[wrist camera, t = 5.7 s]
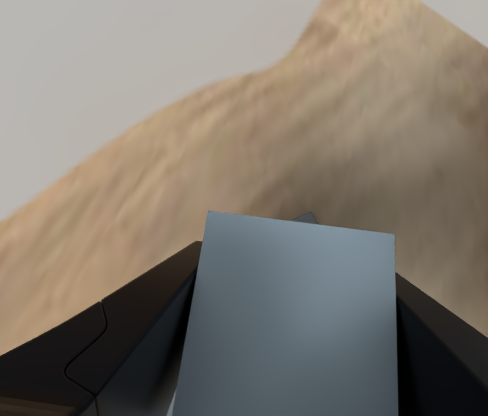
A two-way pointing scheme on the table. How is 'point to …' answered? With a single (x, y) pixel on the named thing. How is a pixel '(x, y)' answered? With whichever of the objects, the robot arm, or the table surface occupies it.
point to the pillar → (290, 322)
